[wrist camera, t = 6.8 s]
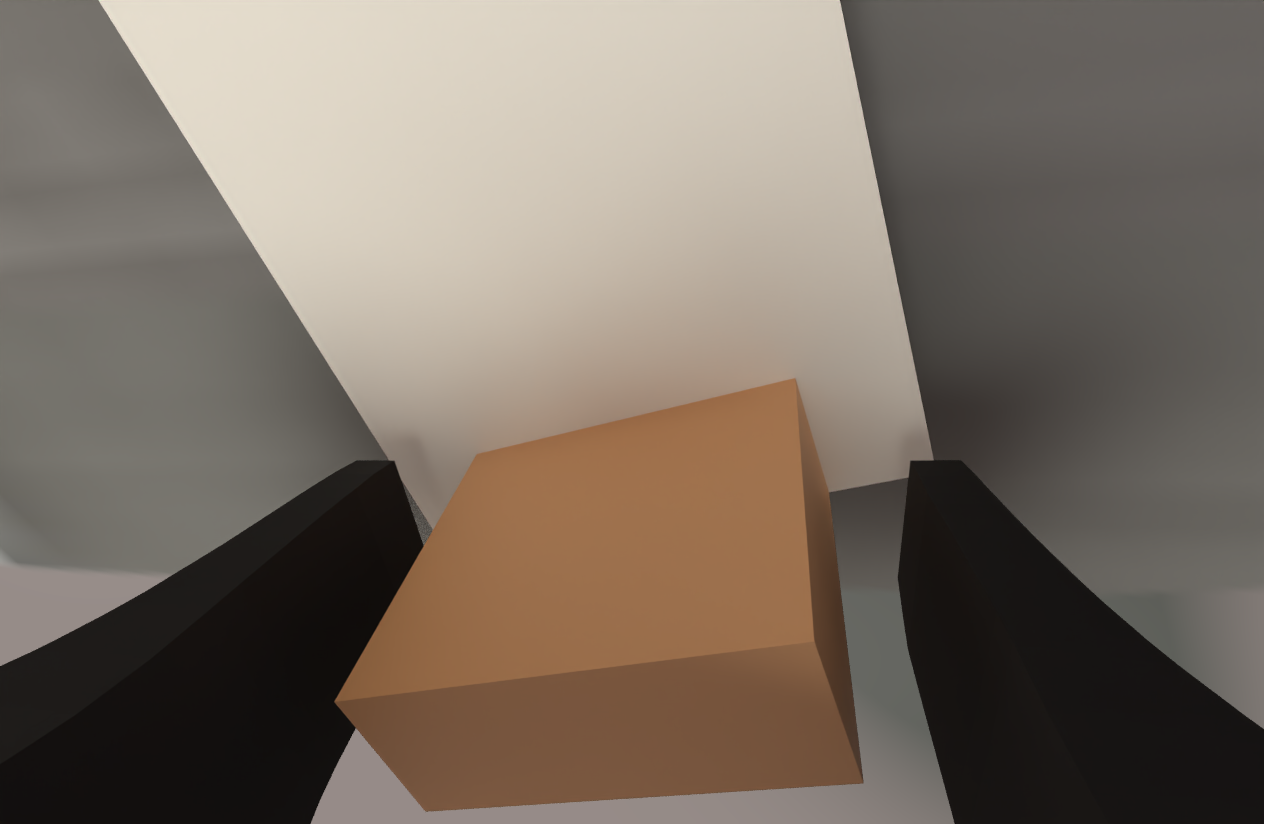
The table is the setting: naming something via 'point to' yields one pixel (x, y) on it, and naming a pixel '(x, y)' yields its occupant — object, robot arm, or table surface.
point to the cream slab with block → (579, 361)
